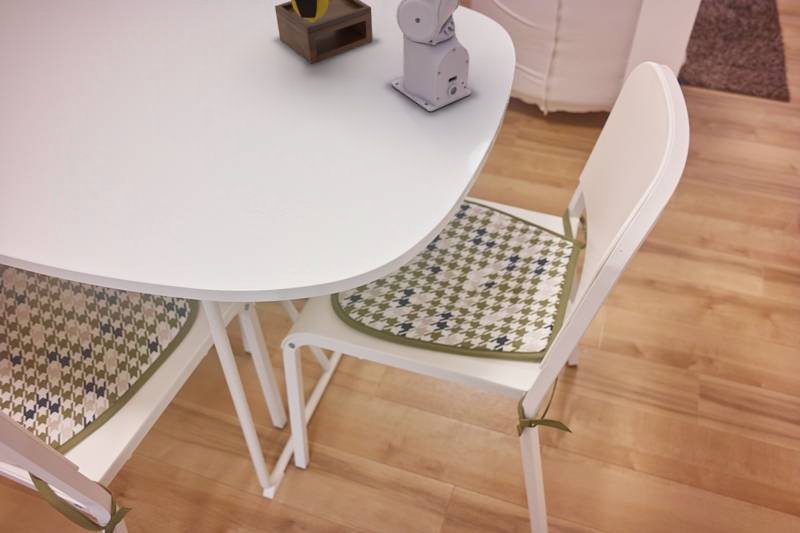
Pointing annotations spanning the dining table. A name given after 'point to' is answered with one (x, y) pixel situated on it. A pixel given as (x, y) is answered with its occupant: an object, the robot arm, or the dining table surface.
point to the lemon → (321, 9)
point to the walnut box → (325, 29)
